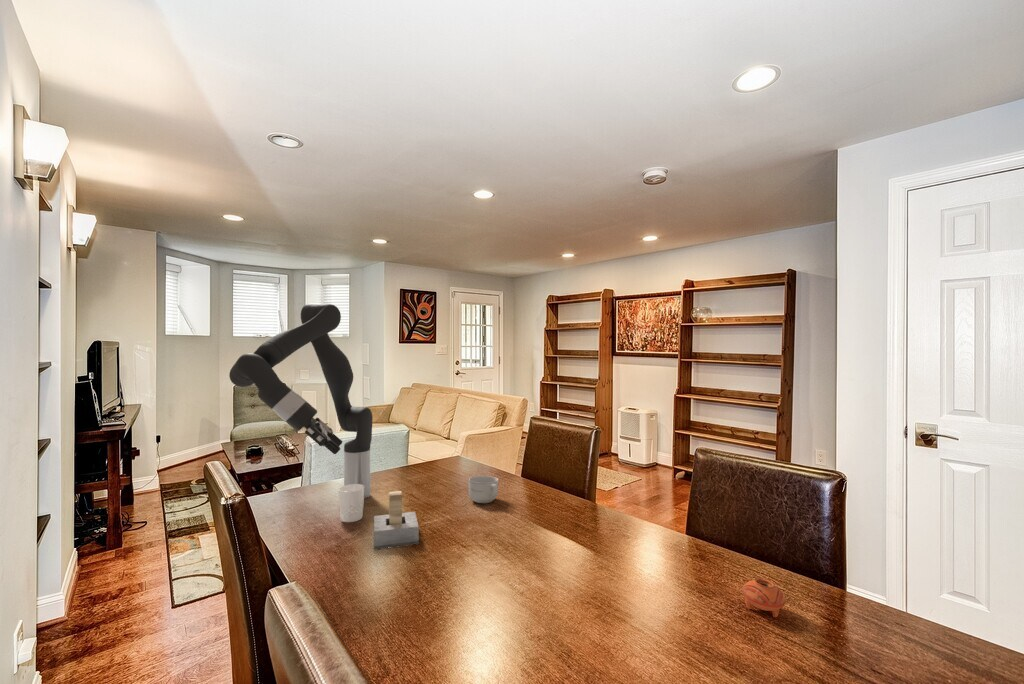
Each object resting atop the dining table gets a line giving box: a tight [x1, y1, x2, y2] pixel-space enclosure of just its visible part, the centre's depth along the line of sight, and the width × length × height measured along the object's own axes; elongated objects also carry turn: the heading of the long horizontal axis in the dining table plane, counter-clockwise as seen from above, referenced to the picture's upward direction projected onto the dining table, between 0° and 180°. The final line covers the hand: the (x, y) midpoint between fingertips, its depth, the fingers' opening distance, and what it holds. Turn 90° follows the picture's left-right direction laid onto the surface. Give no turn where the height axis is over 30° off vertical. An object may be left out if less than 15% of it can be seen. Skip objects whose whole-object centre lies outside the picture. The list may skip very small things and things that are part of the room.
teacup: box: [468, 475, 499, 504], centre depth 162 cm, size 14×11×8 cm
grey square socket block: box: [373, 511, 420, 550], centre depth 131 cm, size 12×12×5 cm
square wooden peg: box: [388, 490, 403, 525], centre depth 131 cm, size 3×3×12 cm
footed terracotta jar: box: [741, 577, 787, 618], centre depth 95 cm, size 8×8×7 cm
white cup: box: [338, 484, 365, 523], centre depth 147 cm, size 8×8×10 cm
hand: (339, 448), depth 130 cm, fingers open, 8 cm apart
